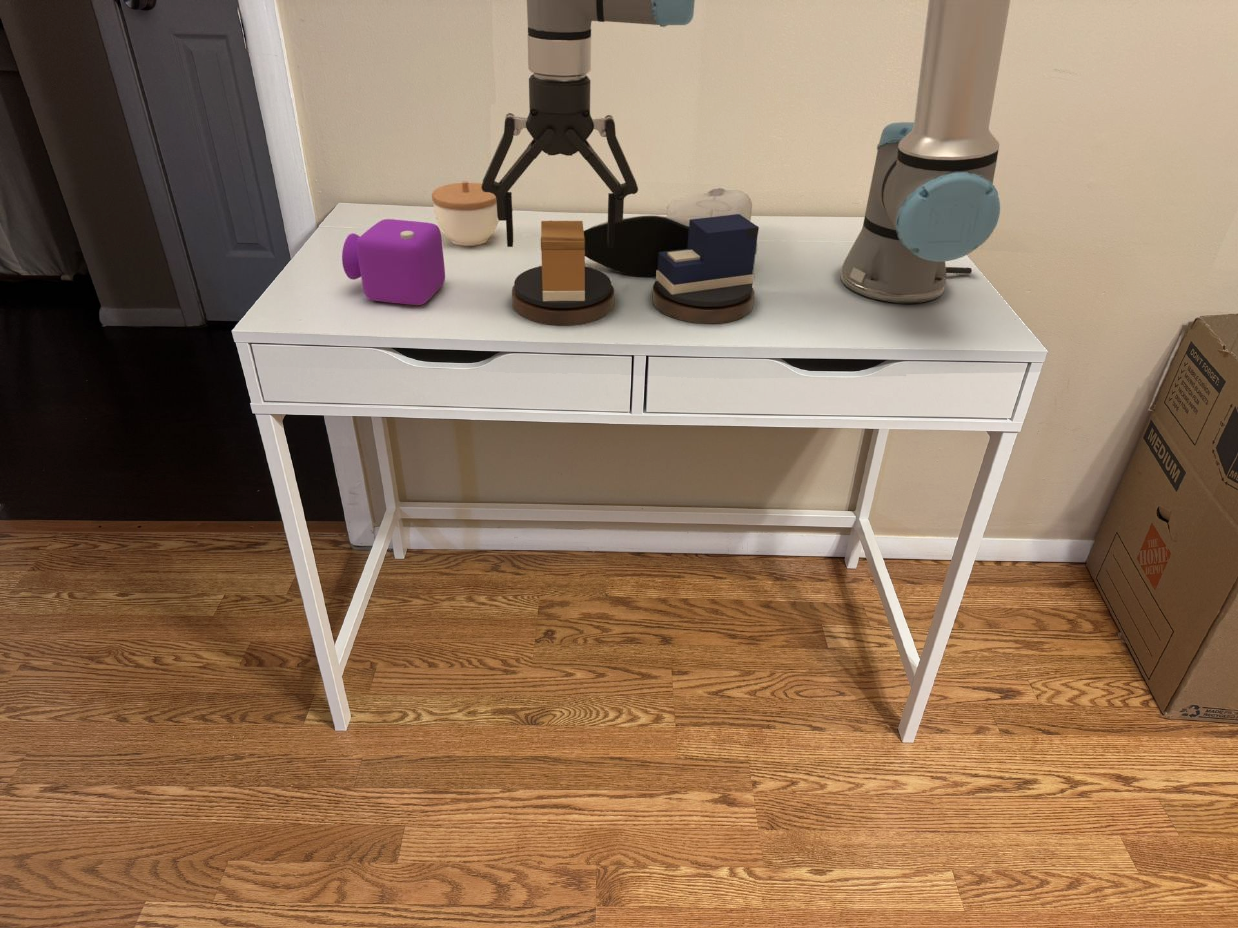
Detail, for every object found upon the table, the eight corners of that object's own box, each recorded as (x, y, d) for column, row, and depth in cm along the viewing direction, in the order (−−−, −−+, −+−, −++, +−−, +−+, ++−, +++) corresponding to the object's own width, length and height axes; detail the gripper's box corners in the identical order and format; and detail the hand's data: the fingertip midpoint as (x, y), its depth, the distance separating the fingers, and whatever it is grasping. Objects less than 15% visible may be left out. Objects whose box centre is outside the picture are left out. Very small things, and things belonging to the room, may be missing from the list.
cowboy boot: (762, 235, 120) (764, 185, 140) (575, 206, 122) (604, 160, 142) (749, 296, 125) (753, 239, 146) (571, 267, 127) (599, 214, 147)
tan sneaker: (614, 308, 112) (616, 243, 107) (513, 309, 111) (509, 243, 106) (608, 268, 123) (609, 208, 118) (515, 269, 122) (512, 208, 117)
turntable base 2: (742, 281, 126) (743, 268, 125) (762, 323, 114) (764, 310, 113) (647, 282, 125) (648, 269, 124) (658, 324, 113) (659, 311, 112)
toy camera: (358, 276, 124) (346, 210, 118) (449, 278, 124) (443, 212, 118) (337, 307, 115) (324, 237, 110) (436, 309, 115) (428, 240, 110)
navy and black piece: (724, 263, 126) (731, 204, 120) (769, 299, 115) (778, 236, 110) (641, 274, 122) (644, 213, 116) (680, 312, 111) (684, 248, 106)
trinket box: (426, 235, 139) (419, 178, 133) (484, 224, 144) (480, 169, 138) (453, 256, 131) (447, 196, 126) (513, 244, 136) (510, 186, 131)
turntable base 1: (610, 282, 125) (610, 269, 124) (617, 325, 113) (617, 311, 112) (513, 282, 124) (513, 270, 122) (510, 326, 112) (510, 312, 111)
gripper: (658, 71, 105) (648, 234, 117) (458, 66, 103) (469, 233, 115) (665, 83, 99) (654, 254, 111) (452, 78, 97) (465, 253, 109)
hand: (560, 244), depth 113 cm, fingers open, 13 cm apart
